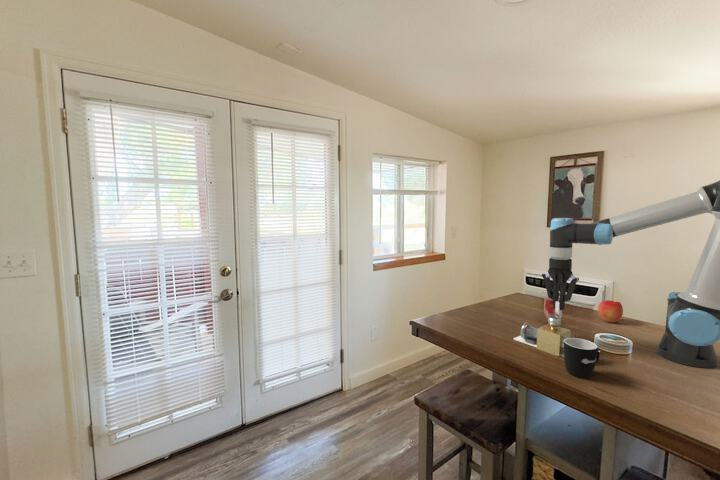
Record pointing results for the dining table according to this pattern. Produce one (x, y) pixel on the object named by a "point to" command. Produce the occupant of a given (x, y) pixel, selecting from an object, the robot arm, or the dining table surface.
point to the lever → (551, 313)
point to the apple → (610, 310)
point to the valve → (546, 337)
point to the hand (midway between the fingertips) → (558, 317)
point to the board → (529, 343)
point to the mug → (580, 357)
